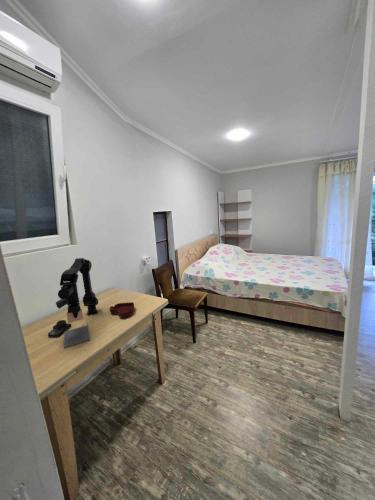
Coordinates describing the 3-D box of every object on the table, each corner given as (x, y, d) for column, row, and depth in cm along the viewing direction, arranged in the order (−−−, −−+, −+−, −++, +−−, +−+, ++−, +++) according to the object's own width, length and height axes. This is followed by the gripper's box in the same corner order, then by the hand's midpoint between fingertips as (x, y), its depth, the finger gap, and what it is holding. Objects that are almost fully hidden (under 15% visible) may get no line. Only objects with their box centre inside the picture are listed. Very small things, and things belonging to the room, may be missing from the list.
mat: (64, 332, 127) (64, 331, 127) (87, 326, 133) (87, 325, 133) (64, 348, 112) (63, 347, 112) (90, 340, 118) (90, 339, 118)
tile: (67, 322, 121) (66, 312, 120) (83, 318, 125) (81, 308, 124) (67, 323, 119) (66, 313, 118) (83, 319, 123) (82, 309, 122)
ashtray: (141, 311, 151) (141, 304, 150) (123, 321, 138) (122, 314, 137) (126, 305, 162) (126, 299, 161) (108, 314, 149) (107, 307, 148)
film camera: (56, 330, 119) (44, 324, 122) (55, 342, 121) (43, 335, 123) (75, 320, 132) (63, 314, 134) (74, 330, 133) (62, 324, 136)
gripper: (56, 290, 123) (60, 315, 126) (54, 301, 107) (59, 328, 110) (77, 286, 129) (80, 310, 131) (78, 296, 113) (82, 322, 115)
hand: (75, 317), depth 122 cm, fingers closed on tile, 2 cm apart
